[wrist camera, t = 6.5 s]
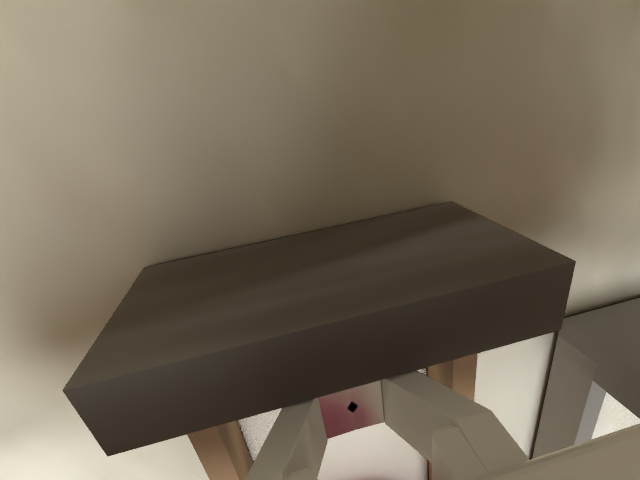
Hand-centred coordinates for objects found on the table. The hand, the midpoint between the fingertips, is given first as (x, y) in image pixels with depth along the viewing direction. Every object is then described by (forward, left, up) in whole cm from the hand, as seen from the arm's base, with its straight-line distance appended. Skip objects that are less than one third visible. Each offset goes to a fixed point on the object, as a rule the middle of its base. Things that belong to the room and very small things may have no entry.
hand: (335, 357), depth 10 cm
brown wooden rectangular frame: (+9, 0, -3) cm, 10 cm away
